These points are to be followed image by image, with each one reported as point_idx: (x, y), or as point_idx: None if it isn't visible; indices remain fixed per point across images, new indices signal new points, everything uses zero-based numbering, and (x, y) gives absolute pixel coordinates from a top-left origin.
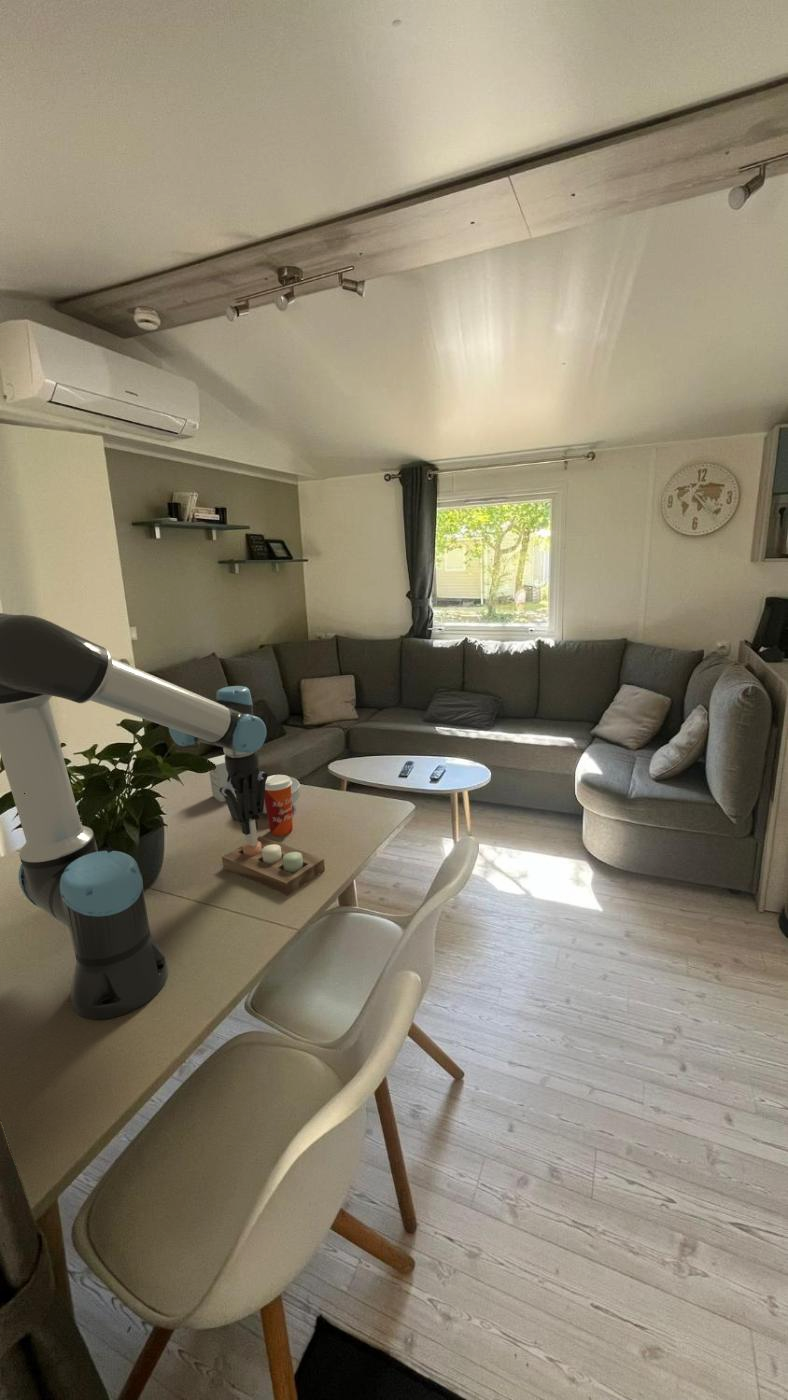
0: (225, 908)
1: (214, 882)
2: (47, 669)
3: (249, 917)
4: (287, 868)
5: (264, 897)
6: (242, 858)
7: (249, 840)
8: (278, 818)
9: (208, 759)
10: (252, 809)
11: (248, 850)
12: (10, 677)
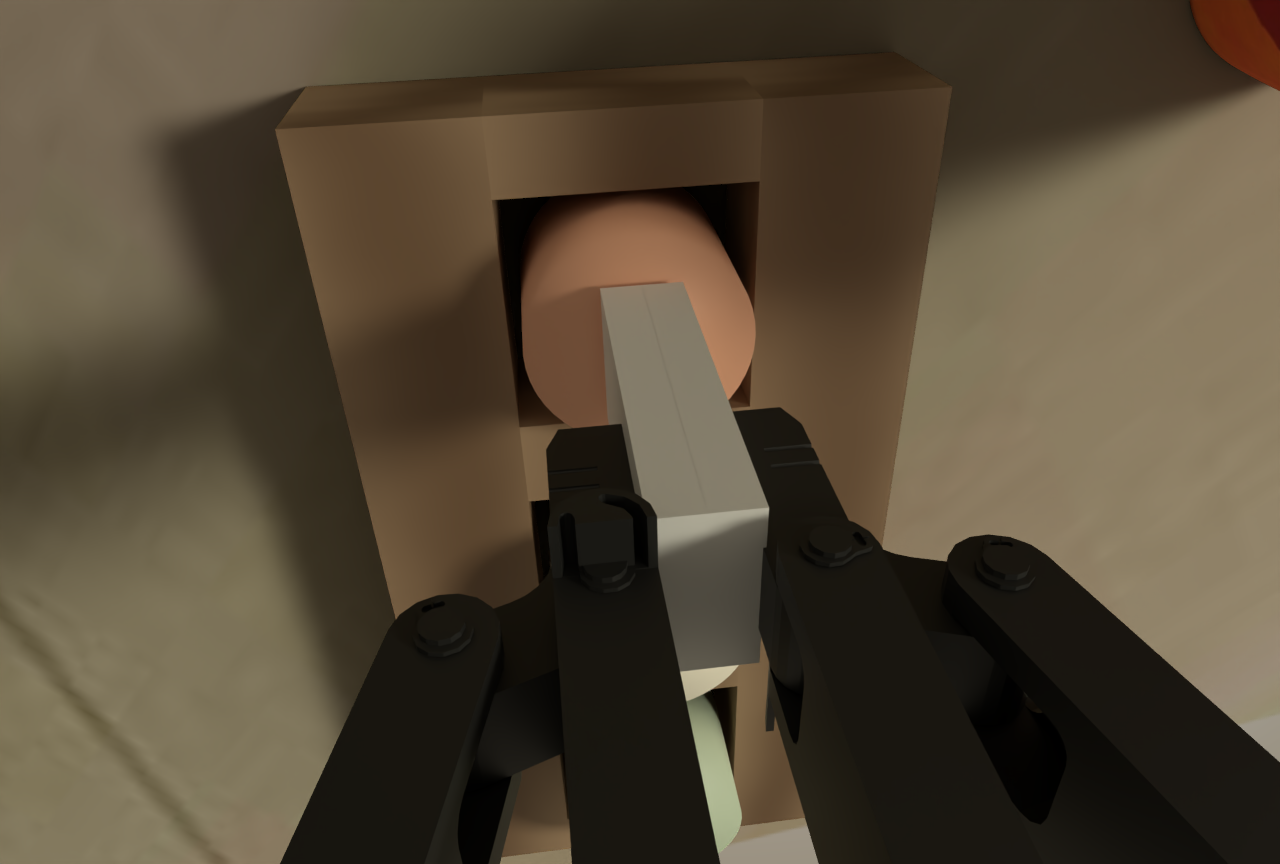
0: (34, 639)
1: (94, 264)
2: None
3: (142, 792)
4: None
5: (336, 708)
6: (440, 373)
7: (611, 402)
8: None
9: None
10: (810, 805)
11: (540, 393)
12: None
